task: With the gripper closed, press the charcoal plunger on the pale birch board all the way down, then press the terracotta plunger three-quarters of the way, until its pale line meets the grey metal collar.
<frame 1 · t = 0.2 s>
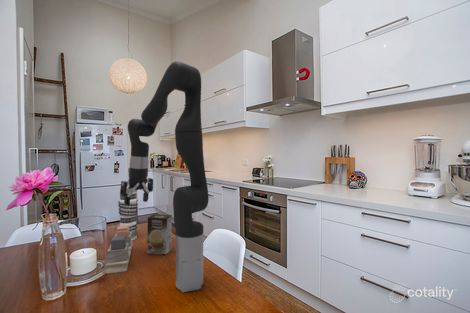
hand: (136, 203, 101), 22 cm above the table, tool pointing down, fingers open, 8 cm apart
coffee box: (159, 251, 104), on the table
terracotta plunger: (122, 232, 103), point 9 cm above the table, slide at 0.0 cm
charcoal plunger: (118, 244, 90), point 9 cm above the table, slide at 0.0 cm
decorative candle: (128, 238, 120), on the table
button board: (120, 258, 97), on the table
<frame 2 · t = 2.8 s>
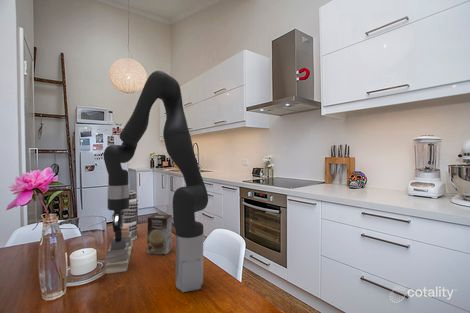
hand: (118, 240, 90), 10 cm above the table, tool pointing down, fingers closed
charcoal plunger: (118, 246, 90), point 8 cm above the table, slide at 1.1 cm, touching gripper
everything else where it was.
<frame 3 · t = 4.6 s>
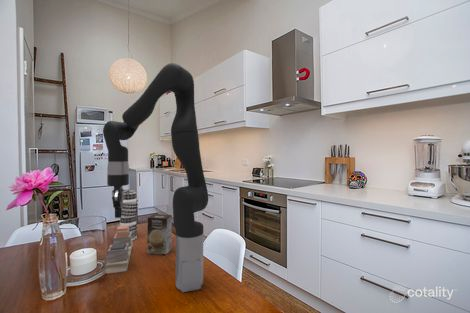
hand: (118, 217, 91), 19 cm above the table, tool pointing down, fingers closed
charcoal plunger: (118, 251, 90), point 6 cm above the table, slide at 3.1 cm
everything else where it was.
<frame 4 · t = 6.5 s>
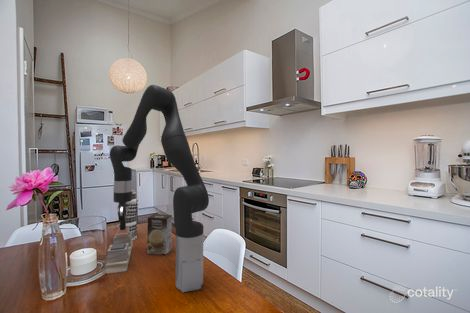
hand: (122, 229, 103), 10 cm above the table, tool pointing down, fingers closed
terracotta plunger: (122, 234, 103), point 8 cm above the table, slide at 1.0 cm, touching gripper
everything else where it was.
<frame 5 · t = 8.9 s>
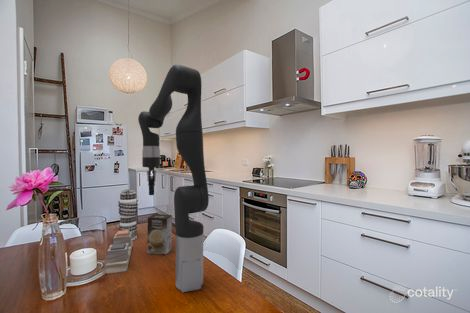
hand: (151, 194, 104), 25 cm above the table, tool pointing down, fingers closed
terracotta plunger: (122, 237, 103), point 6 cm above the table, slide at 2.2 cm
everything else where it was.
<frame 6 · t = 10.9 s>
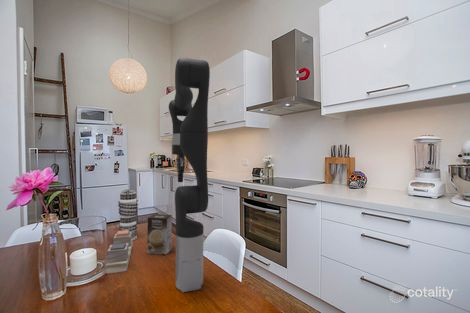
hand: (180, 181, 106), 31 cm above the table, tool pointing down, fingers closed
nothing on the table moved.
at the end: charcoal plunger slide at 3.1 cm; terracotta plunger slide at 2.2 cm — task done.
